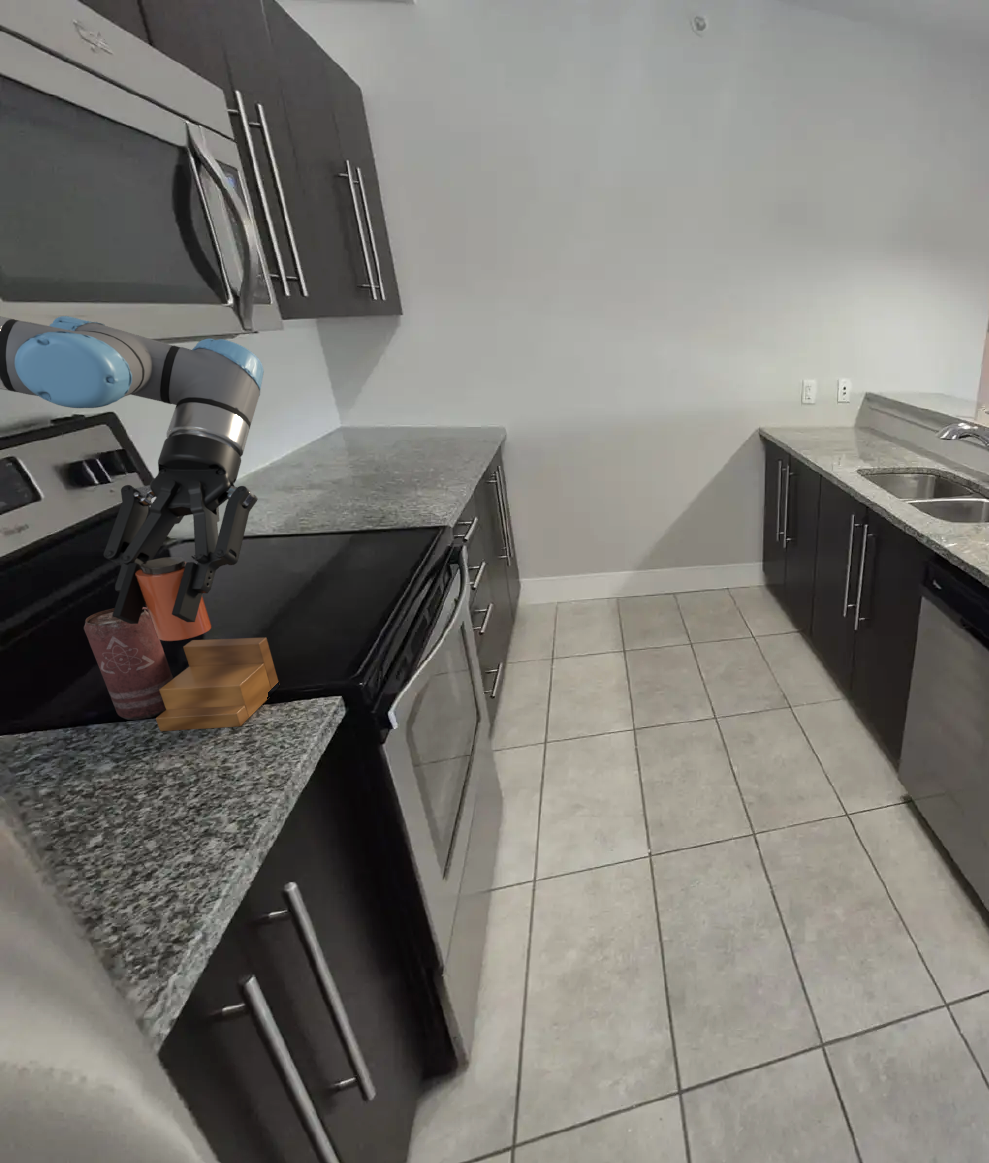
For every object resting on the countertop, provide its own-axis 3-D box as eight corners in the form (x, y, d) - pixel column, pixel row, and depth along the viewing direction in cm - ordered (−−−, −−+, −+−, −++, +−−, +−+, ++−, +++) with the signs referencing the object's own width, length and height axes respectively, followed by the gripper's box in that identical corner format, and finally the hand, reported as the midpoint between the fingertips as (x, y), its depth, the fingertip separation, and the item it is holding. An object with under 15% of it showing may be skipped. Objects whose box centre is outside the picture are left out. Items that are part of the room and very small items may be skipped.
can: (193, 700, 88) (162, 608, 83) (137, 725, 82) (100, 628, 77) (164, 691, 90) (131, 600, 84) (107, 714, 84) (69, 618, 79)
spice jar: (146, 641, 75) (121, 570, 72) (175, 623, 80) (152, 555, 76) (195, 640, 76) (172, 569, 73) (220, 622, 80) (200, 555, 77)
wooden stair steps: (160, 731, 81) (140, 677, 78) (208, 690, 90) (192, 640, 88) (240, 726, 83) (224, 673, 80) (280, 686, 92) (266, 637, 89)
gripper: (298, 465, 87) (262, 627, 78) (144, 464, 84) (87, 632, 75) (268, 432, 80) (224, 605, 71) (98, 429, 77) (30, 609, 68)
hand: (154, 618), depth 73 cm, fingers closed on spice jar, 5 cm apart
